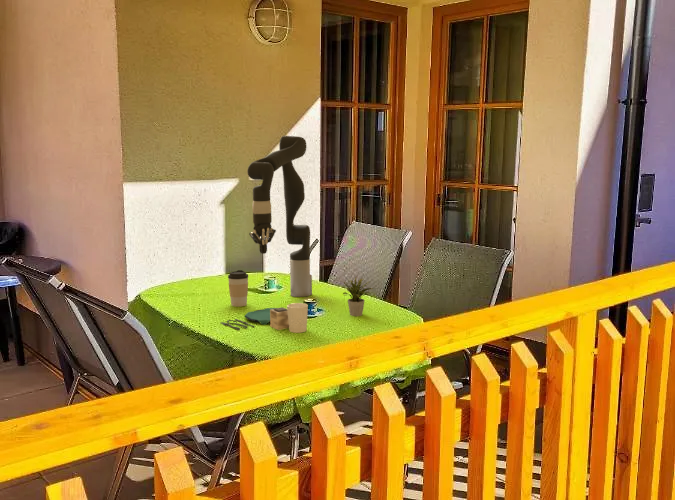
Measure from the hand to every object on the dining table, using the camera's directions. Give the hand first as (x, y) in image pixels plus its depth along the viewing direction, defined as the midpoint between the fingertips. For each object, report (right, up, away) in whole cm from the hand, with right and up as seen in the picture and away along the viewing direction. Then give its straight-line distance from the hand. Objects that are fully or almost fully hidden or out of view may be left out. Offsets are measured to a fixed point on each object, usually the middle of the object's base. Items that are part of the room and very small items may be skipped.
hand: (263, 253), depth 288 cm
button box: (+8, -29, -13) cm, 33 cm away
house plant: (+38, -26, +4) cm, 46 cm away
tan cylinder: (+15, -30, -18) cm, 38 cm away
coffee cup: (-13, -23, +24) cm, 36 cm away
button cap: (+8, -24, -14) cm, 29 cm away
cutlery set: (-1, -28, -2) cm, 28 cm away
